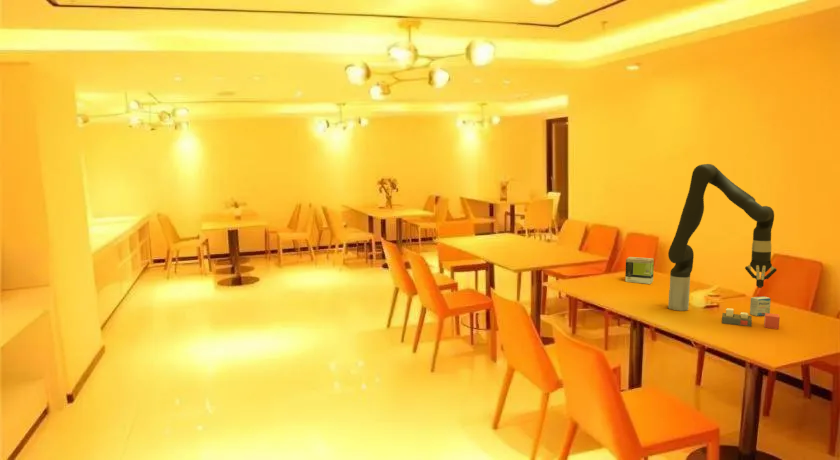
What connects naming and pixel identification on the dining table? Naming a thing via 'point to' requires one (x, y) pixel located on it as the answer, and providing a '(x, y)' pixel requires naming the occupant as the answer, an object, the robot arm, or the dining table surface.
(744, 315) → the breaker tagged
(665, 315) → the dining table surface
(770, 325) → the red block
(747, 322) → the breaker panel
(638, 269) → the tea box
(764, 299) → the medicine box
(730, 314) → the breaker plain
